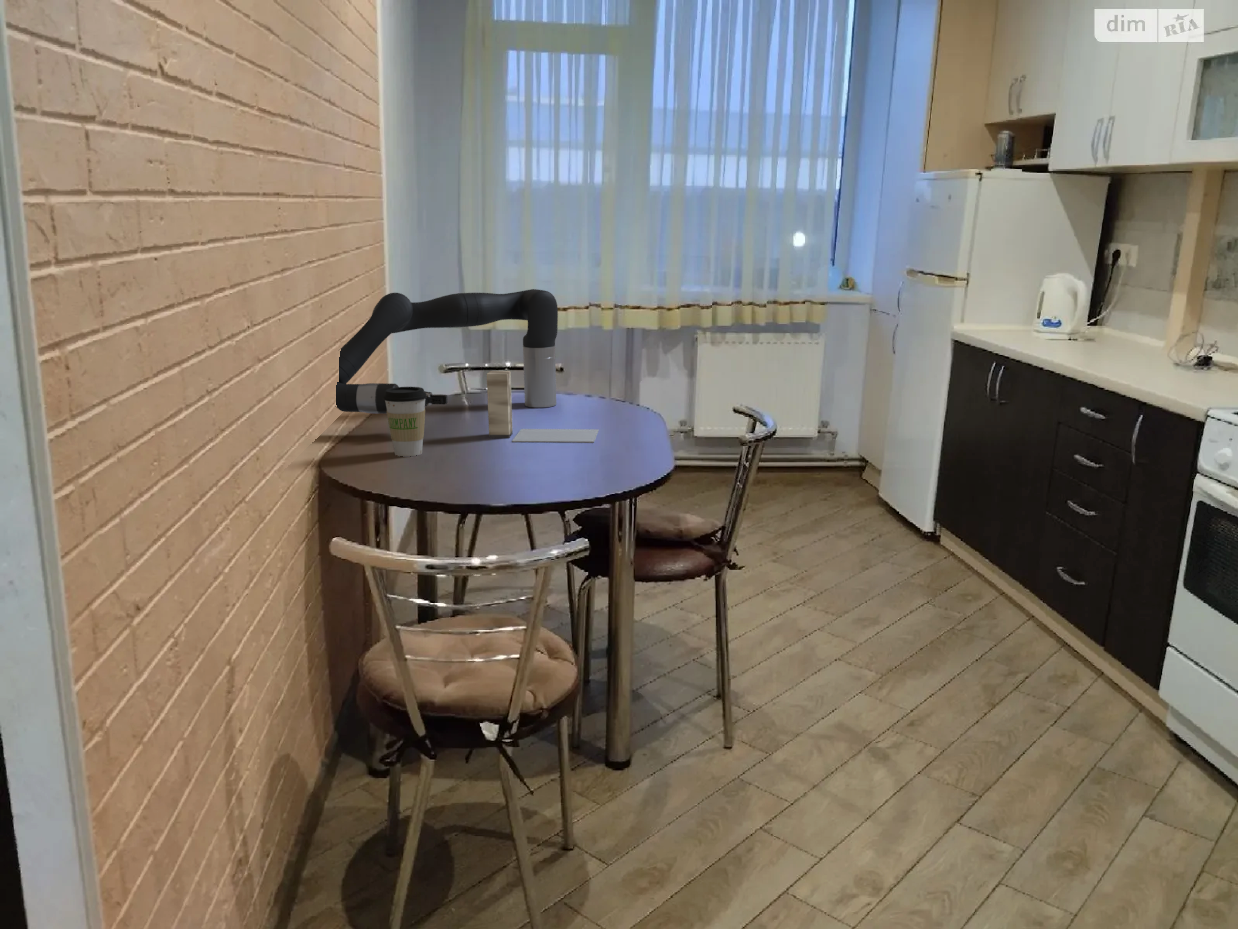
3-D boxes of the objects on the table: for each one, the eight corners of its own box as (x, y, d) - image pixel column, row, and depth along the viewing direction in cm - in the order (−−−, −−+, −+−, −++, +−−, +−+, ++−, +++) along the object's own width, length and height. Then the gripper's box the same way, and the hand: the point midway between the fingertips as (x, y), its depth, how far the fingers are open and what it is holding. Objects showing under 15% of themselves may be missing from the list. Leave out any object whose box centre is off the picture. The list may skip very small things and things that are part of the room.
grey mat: (521, 430, 250) (521, 428, 250) (598, 430, 249) (598, 429, 249) (512, 442, 237) (512, 440, 237) (593, 442, 236) (593, 441, 236)
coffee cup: (378, 454, 225) (373, 390, 222) (413, 446, 232) (409, 384, 229) (403, 460, 219) (399, 394, 215) (438, 453, 226) (435, 389, 222)
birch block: (493, 433, 246) (490, 370, 243) (512, 433, 246) (510, 370, 242) (489, 437, 242) (486, 373, 238) (509, 438, 241) (506, 373, 237)
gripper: (369, 387, 236) (439, 388, 235) (385, 379, 249) (452, 380, 248) (371, 418, 238) (441, 419, 237) (387, 408, 251) (453, 409, 250)
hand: (446, 399), depth 242 cm, fingers closed
